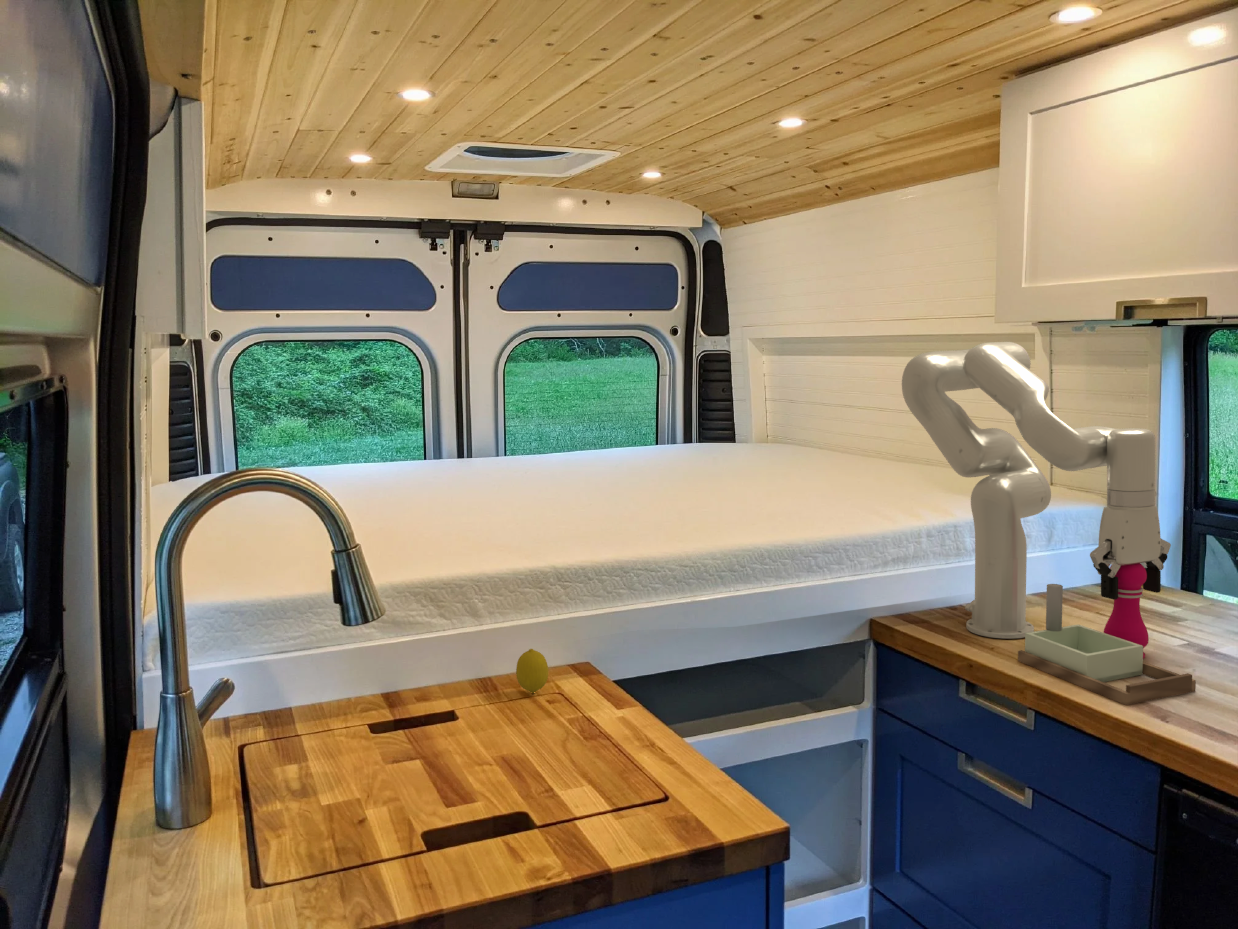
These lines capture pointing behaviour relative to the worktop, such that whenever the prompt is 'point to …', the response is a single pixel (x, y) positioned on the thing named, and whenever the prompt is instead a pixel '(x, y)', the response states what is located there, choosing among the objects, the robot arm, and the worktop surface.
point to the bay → (1134, 693)
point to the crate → (1083, 645)
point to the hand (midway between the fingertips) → (1130, 594)
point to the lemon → (532, 670)
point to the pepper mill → (1129, 606)
